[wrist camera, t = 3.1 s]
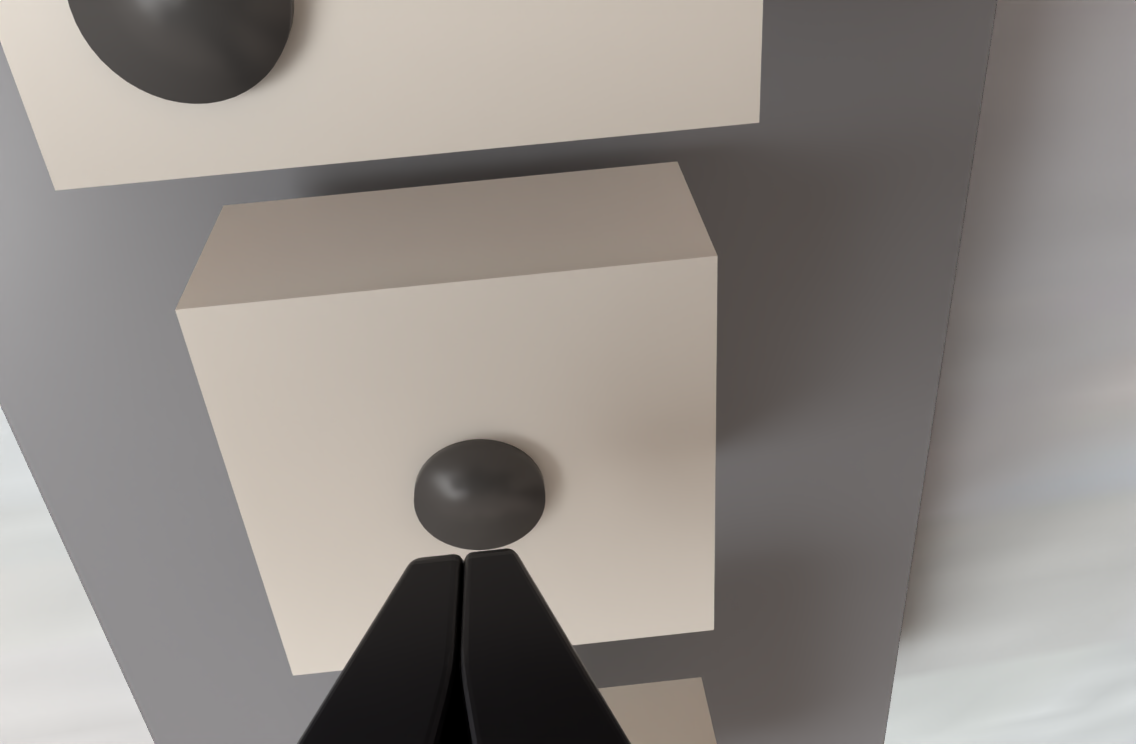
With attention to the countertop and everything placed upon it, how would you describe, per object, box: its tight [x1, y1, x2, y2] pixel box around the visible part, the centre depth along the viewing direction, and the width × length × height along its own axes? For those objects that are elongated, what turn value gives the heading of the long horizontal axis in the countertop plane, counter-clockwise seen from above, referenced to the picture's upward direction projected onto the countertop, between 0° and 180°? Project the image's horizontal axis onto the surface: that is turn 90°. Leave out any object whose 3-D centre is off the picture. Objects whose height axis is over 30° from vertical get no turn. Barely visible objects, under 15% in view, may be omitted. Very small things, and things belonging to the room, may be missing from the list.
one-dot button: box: [175, 162, 718, 676], centre depth 11 cm, size 4×4×2 cm
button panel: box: [0, 0, 997, 744], centre depth 13 cm, size 11×17×2 cm, turn 4°
